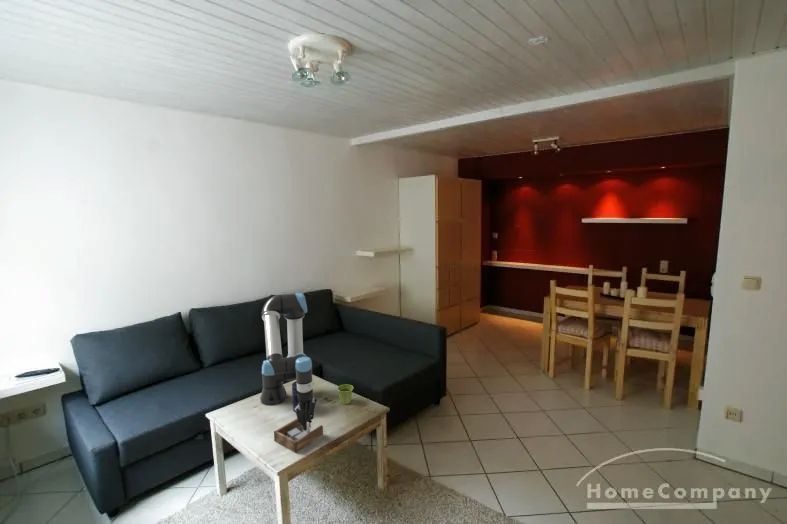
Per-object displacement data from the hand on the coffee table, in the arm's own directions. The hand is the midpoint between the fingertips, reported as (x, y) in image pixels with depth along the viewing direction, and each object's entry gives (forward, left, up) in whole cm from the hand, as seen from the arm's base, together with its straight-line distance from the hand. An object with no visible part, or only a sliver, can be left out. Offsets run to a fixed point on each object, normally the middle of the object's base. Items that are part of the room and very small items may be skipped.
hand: (307, 435), depth 183 cm
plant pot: (-9, +37, -2) cm, 38 cm away
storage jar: (-24, +17, -2) cm, 29 cm away
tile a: (-6, -3, -2) cm, 7 cm away
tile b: (0, -3, -2) cm, 4 cm away
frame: (-3, -2, -1) cm, 4 cm away
